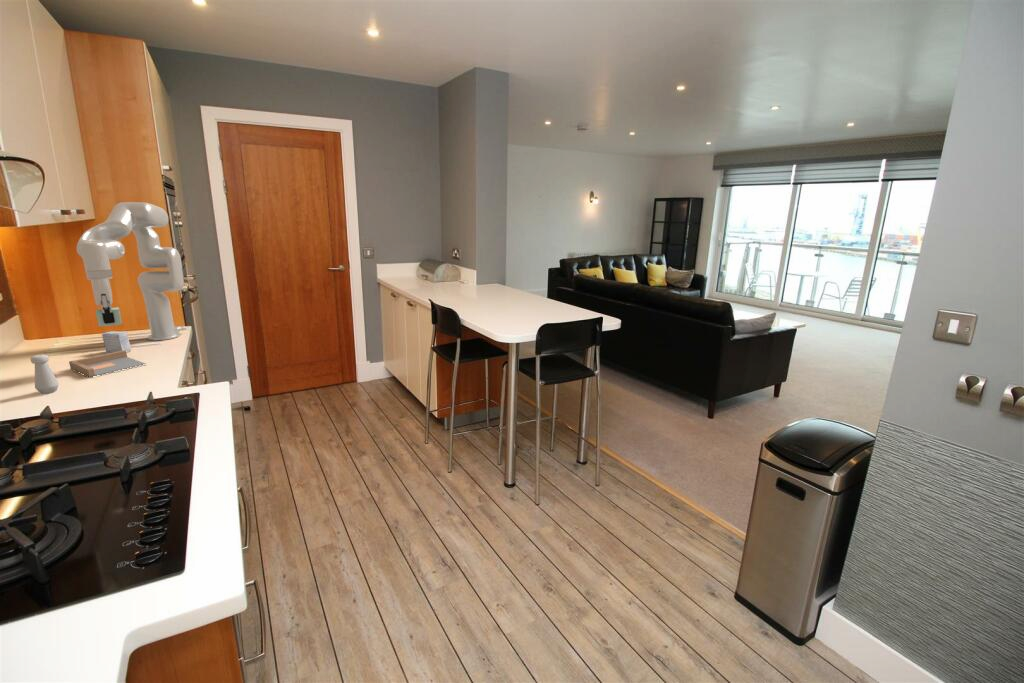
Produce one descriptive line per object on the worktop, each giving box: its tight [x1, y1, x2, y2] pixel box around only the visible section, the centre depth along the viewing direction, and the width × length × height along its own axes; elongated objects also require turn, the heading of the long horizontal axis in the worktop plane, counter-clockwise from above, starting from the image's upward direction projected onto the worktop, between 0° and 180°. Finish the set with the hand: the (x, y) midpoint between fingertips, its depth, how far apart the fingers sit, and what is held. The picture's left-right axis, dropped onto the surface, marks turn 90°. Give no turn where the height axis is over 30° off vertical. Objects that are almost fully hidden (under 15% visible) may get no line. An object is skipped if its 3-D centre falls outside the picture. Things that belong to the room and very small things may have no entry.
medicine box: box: [101, 330, 132, 354], centre depth 209 cm, size 8×4×9 cm, turn 84°
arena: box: [68, 350, 147, 378], centre depth 190 cm, size 18×18×3 cm
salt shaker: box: [30, 353, 59, 395], centre depth 163 cm, size 6×6×13 cm
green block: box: [94, 306, 123, 328], centre depth 188 cm, size 4×7×6 cm, turn 129°
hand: (109, 321), depth 189 cm, fingers closed on green block, 4 cm apart
